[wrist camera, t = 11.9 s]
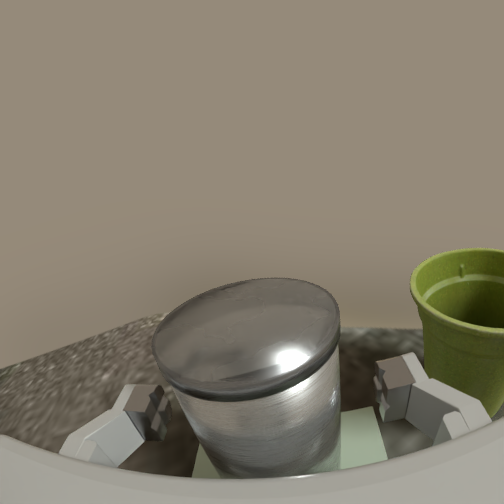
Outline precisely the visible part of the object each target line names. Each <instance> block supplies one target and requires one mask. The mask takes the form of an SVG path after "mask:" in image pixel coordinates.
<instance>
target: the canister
mask: <svg viewBox="0 0 504 504" xmlns="http://www.w3.org/2000/svg"><path fill="white" fill-rule="evenodd" d="M340 330H341V327H340V313H339V307H338V304H337V302H336V300H335V299H334V297H333V296H332V295H331V294H330V293H329V292H328V291H326V290H325V289H323V288H322V287H320V286H318V285H315V284H313V283H310V282H307V281H303V280H298V279H290V278H260V279H252V280H245V281H240V282H236V283H231V284H227V285H224V286H220V287H217V288H214V289H212V290H209V291H206V292H204V293H202V294H200V295H197V296H195V297H193V298H191V299H190V300H188V301H186V302H184V303H183V304H181V305H180V306H178V307H177V308H176V309H174V310H173V311H172V312H170V313H169V314H168V315H167V316H166V317H165V318H164V319H163V320H162V321H161V323H160V324H159V326H158V327H157V329H156V331H155V333H154V335H153V339H152V353H153V356H154V358H155V360H156V362H157V365H158V367H159V369H160V371H161V373H162V375H163V377H164V378H165V379H166V381H167V382H168V383H169V384H170V385H171V387H172V389H173V392H174V394H175V396H176V398H177V400H178V402H179V404H180V406H181V408H182V410H183V412H184V414H185V416H186V418H187V420H188V422H189V423H190V425H191V427H192V429H193V431H194V433H195V435H196V437H197V438H198V440H199V442H200V444H201V446H202V447H203V449H204V451H205V453H206V454H207V456H208V458H209V460H210V461H211V463H212V465H213V466H214V468H215V470H216V471H217V473H218V475H219V476H220V478H221V479H256V478H275V477H288V476H299V475H307V474H315V473H323V472H329V471H335V470H341V396H340V368H339V348H338V343H339V339H340Z"/></svg>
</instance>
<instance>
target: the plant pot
mask: <svg viewBox="0 0 504 504" xmlns="http://www.w3.org/2000/svg"><path fill="white" fill-rule="evenodd" d="M410 292H411V295H412V297H413V299H414V301H415V302H416V304H417V306H418V312H419V316H420V318H421V320H422V324H423V340H424V371H425V372H426V374H427V376H428V378H429V379H432V378H433V379H435V380H437V381H439V382H442V383H444V384H446V385H448V386H450V387H452V388H454V389H456V390H458V391H460V392H462V393H465V394H467V395H469V396H471V397H473V398H475V399H477V400H480V402H481V404H482V405H483V407H484V408H485V410H486V412H487V414H488V415H489V417H490V418H492V417H493V416H494V415H495V414H496V413H497V411H498V410H499V409H500V407H501V405H502V404H503V402H504V250H497V249H489V248H466V249H458V250H454V251H448V252H444V253H440V254H437V255H435V256H432V257H430V258H429V259H426V260H424V261H423V262H422V263H420V264H419V266H418V267H416V268H415V269H414V271H413V273H412V274H411V278H410Z"/></svg>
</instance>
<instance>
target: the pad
mask: <svg viewBox="0 0 504 504" xmlns="http://www.w3.org/2000/svg"><path fill="white" fill-rule="evenodd" d="M384 460H388V459H387V455H386V451H385V448H384V444H383V440H382V437H381V433H380V430H379V426H378V423H377V420H376V416H375V413H374V410H373V406H371V407H366V408H361V409H356V410H351V411H346V412H341V469H347V468H352V467H357V466H362V465H367V464H371V463H376V462H380V461H384ZM192 478H210V479H221V478H220V476H219V475H218V473H217V471H216V470H215V468H214V466H213V465H212V463H211V461H210V460H209V458H208V456H207V454H206V453H205V451H204V449H203V447H202V446H201V444H199V448H198V452H197V457H196V461H195V465H194V469H193V474H192Z"/></svg>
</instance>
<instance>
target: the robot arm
mask: <svg viewBox="0 0 504 504" xmlns="http://www.w3.org/2000/svg"><path fill="white" fill-rule="evenodd" d="M374 371H375V374H376V376H375V377H374V378H373V387H374V394H375V398H376V401H377V402H378V403H380V408H379V411H380V414H381V417H382V420H383V423H385V422H389V421H394V420H398V419H402V418H405V419H406V420H407V421H409V422H410V423H411V424H412V425H414V426H415V427H416V428H418V429H419V430H420V431H422V432H423V433H424V434H426V435H427V436H428V437H430V438H431V439H432V440H434V443H433V445H432V447H429V448H426V449H423V450H420V451H416V452H413V453H410V454H406V455H403V456H399V457H396V458H392V459H388V460H384V461H380V462H376V463H371V464H367V465H362V466H357V467H352V468H347V469H341V470H335V471H329V472H323V473H315V474H307V475H299V476H288V477H275V478H256V479H210V478H190V477H177V476H167V475H158V474H150V473H143V472H136V471H130V470H124V469H119V468H117V467H118V466H119V465H120V464H121V463H122V462H123V461H124V460H125V459H127V458H128V457H129V456H130V455H131V454H132V453H133V452H134V451H135V450H136V449H137V448H138V447H139V446H140V445H141V444H142V443H143V442H144V440H147V441H163V440H164V437H165V434H166V431H167V428H166V426H165V425H166V424H167V423H168V422H170V419H171V416H172V408H171V404H170V402H169V400H168V399H167V398H165V397H164V396H163V395H164V390H163V388H162V386H160V385H144V384H127V385H125V386H124V388H123V390H122V392H121V393H120V395H119V397H118V399H117V401H116V402H115V404H114V406H113V408H112V410H107V411H106V412H104V413H103V414H101V415H100V416H98V417H97V418H95V419H94V420H92V421H90V422H89V423H87V424H86V425H84V426H83V427H81V428H80V429H78V430H76V431H75V432H73V433H72V434H70V435H69V436H68V438H67V440H66V441H65V443H64V445H63V446H62V448H61V450H60V451H59V453H58V454H57V453H54V452H50V451H47V450H44V449H41V448H38V447H35V446H32V445H30V444H27V443H24V442H22V441H19V440H16V439H14V438H12V437H9V436H7V435H0V504H504V417H502V418H500V419H498V420H496V421H494V422H492V420H491V419H490V417H489V415H488V414H487V412H486V410H485V408H484V407H483V405H482V404H481V402H480V400H477V399H475V398H473V397H471V396H469V395H467V394H465V393H462V392H460V391H458V390H456V389H454V388H452V387H450V386H448V385H446V384H444V383H442V382H439V381H437V380H435V379H433V378H432V379H429V378H428V376H427V374H426V372H425V371H424V369H423V367H422V365H421V364H420V362H419V360H418V359H417V357H416V355H415V353H413V352H411V353H408V354H404V355H400V356H397V357H393V358H389V359H384V360H380V361H376V362H375V364H374Z"/></svg>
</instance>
